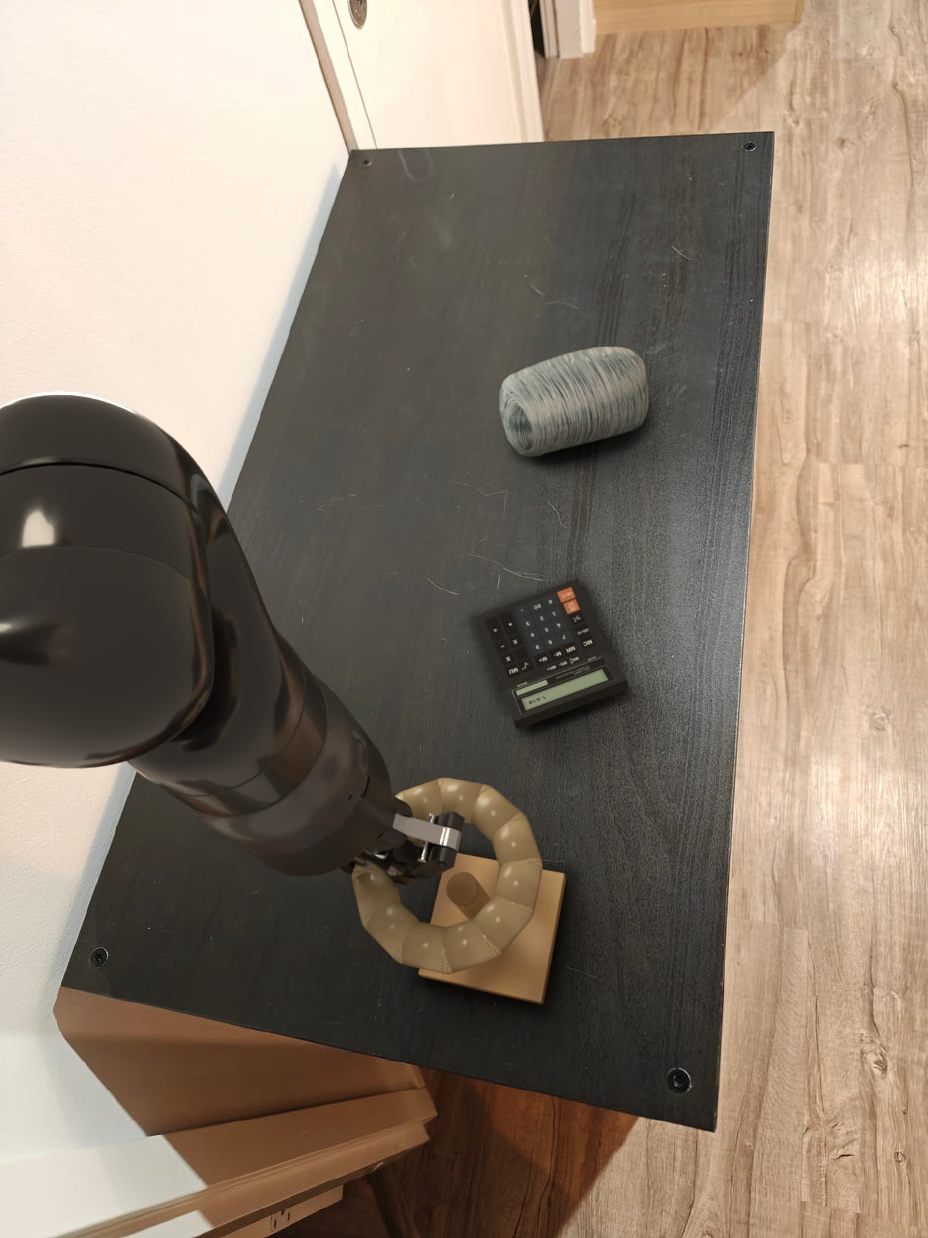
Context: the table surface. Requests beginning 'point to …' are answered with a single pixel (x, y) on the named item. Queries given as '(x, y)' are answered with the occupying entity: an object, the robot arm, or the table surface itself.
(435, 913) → the wooden peg stand
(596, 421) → the spool
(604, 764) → the table surface
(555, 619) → the calculator
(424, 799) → the segmented beige ring
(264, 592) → the table surface
